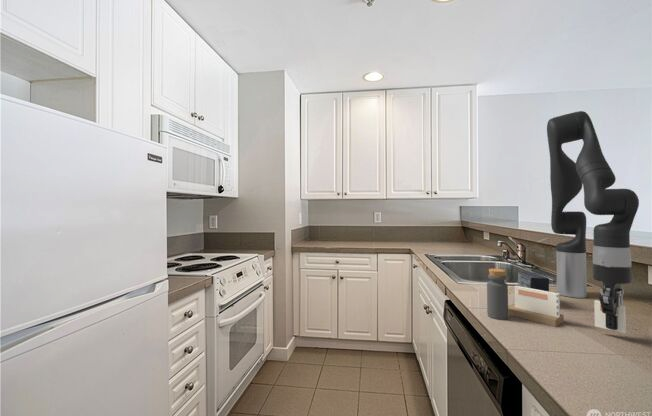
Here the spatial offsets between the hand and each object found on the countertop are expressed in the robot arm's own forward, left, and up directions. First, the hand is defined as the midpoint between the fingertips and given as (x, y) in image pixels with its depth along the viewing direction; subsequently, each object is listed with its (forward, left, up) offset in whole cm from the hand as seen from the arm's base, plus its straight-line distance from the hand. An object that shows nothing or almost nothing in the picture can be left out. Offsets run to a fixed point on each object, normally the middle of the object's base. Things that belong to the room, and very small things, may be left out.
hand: (612, 327), depth 80 cm
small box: (-17, -25, -3) cm, 30 cm away
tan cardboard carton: (0, -18, -3) cm, 18 cm away
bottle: (+8, -26, -3) cm, 27 cm away
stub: (0, 0, -1) cm, 1 cm away
